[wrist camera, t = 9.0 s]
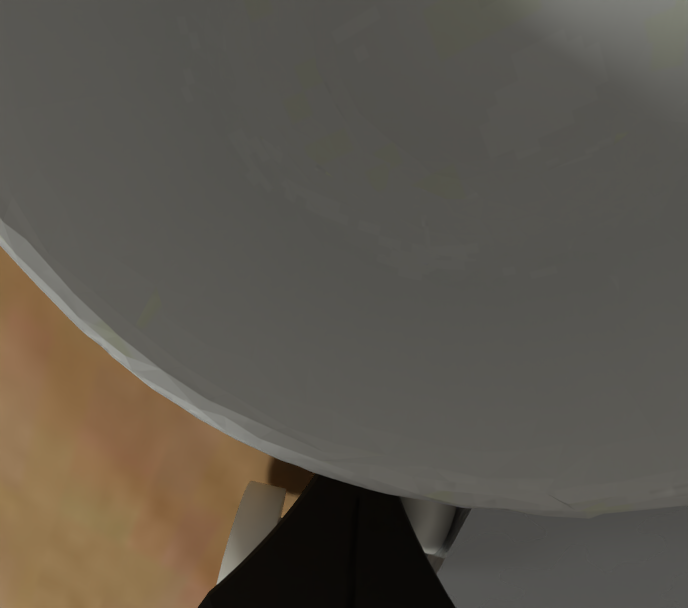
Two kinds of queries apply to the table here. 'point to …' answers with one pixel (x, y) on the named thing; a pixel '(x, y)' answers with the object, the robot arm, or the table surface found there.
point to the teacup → (374, 230)
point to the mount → (565, 560)
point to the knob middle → (252, 523)
